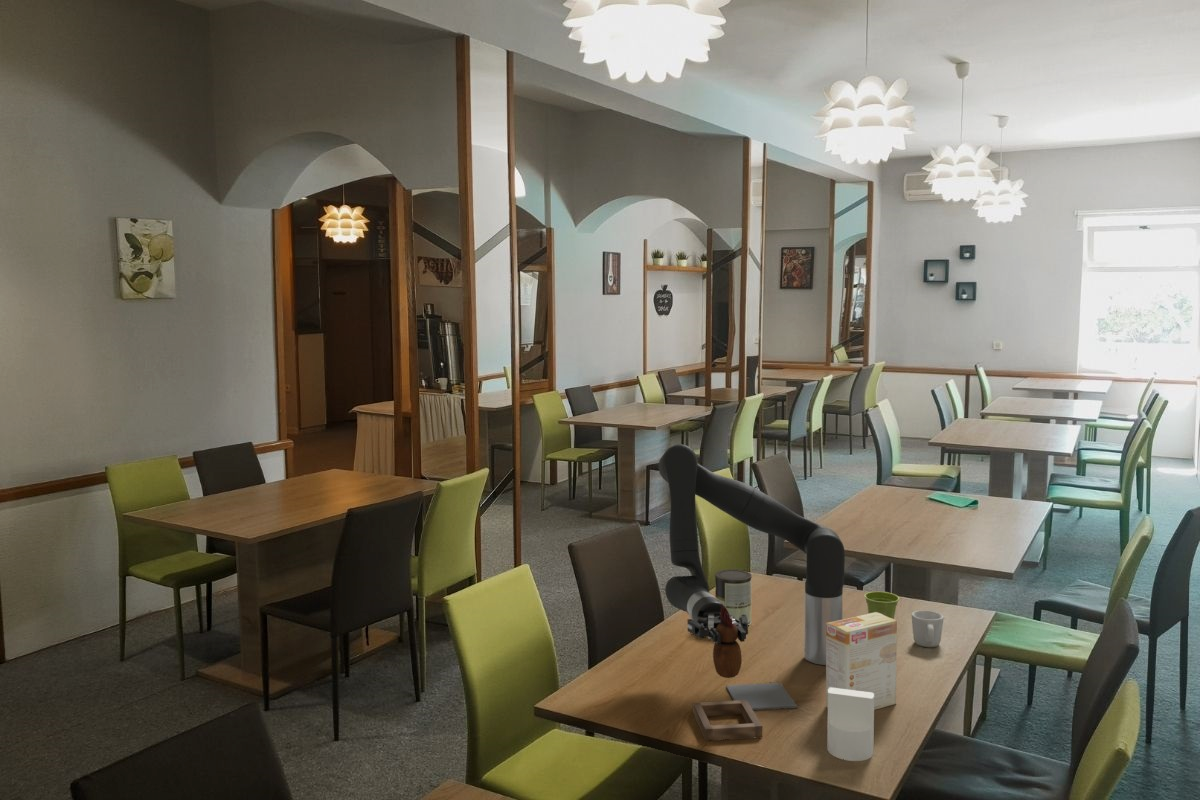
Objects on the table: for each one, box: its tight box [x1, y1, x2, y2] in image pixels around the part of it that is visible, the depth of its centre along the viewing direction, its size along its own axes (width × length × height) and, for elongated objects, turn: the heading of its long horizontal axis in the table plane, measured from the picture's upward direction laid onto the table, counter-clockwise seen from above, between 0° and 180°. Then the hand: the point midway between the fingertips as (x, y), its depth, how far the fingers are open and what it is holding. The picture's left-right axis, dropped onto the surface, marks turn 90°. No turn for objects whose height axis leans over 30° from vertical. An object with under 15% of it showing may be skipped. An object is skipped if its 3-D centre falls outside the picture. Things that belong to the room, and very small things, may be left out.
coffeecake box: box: [825, 612, 898, 711], centre depth 205 cm, size 15×7×20 cm, turn 117°
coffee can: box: [714, 569, 753, 626], centre depth 261 cm, size 10×10×14 cm
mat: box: [726, 682, 798, 711], centre depth 211 cm, size 13×13×1 cm
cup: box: [911, 609, 945, 648], centre depth 241 cm, size 11×8×8 cm
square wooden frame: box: [692, 700, 763, 741], centre depth 197 cm, size 12×13×2 cm
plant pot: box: [863, 591, 900, 620], centre depth 256 cm, size 9×9×9 cm
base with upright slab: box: [826, 687, 875, 762], centre depth 184 cm, size 9×9×12 cm
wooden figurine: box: [712, 604, 743, 679], centre depth 195 cm, size 7×6×15 cm
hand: (731, 638), depth 192 cm, fingers closed on wooden figurine, 4 cm apart
